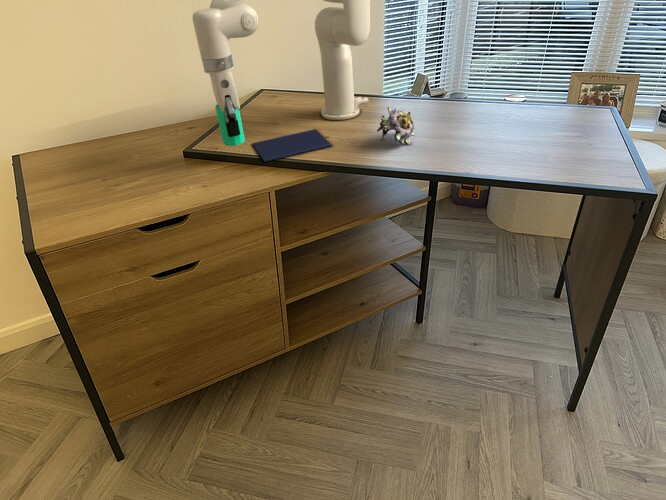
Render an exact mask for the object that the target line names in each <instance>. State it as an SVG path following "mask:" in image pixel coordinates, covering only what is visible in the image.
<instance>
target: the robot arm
mask: <svg viewBox="0 0 666 500" xmlns="http://www.w3.org/2000/svg"><path fill="white" fill-rule="evenodd" d="M242 1H243V0H211V2H210V5H209V8H202V9H199V10H196V11H194V12H193V13H192V16H191V17H192V24H193V28H194V32H195V37H196V42H197V46H198V50H199V54H200V55H199V56H200V59H201V63H202V68H203V72H204V73H205V74H209V78H210V82H211V87H212V92H213V95H214V98H215V102H216V105H217V104H218V106H219V108H220V109H221V111H222V112H224V113H225V118H226V127H227V132H228V136H229V137H233V136H238V135H240V130H239V125H238V120H237V117H236V113H235V109H234V106H235V108H236V109H238V110H239V111H240V109H241V104H240V101H239V97H238V92H237V87H236V83H235V79H234V76H233V73H232V70H234V69H235V66H234V59H233V55H232V50H231V44H230V39H239V38H240V39H241V38H247V37H249V36H252V35H254V33H255V32H256V31H257V29H258V27H259V15H258V13H257V11H256V10H255V9H254V8H253V7H252V6H250V5H248V4H246V3H242ZM323 1H324V2H327V3H333V4H342V7H339V6H338V7H337V6H328V7H324V8H323V9H321V10H320V11H318V13H317V15H316V16H315V20H314V32H315V35H316V39H317V42H318V47H319V53H320V61H321V73H322V83H323V94H324V95H323V96H324V108H322V109H321V111H320V115H321V116H322V117H323V118H324V119H327V120H331V121H343V120H349V119H352V118H355V117H357V116H358V115H359V114H360V106H361V105H367V104H369V98H368V97H363V98H362V96H359V97H358V96H357V97H355V91H354V88H355V87H354V71H353V55H352V51H351V48H350V46H351V47H359V46H361V45H364V43H366V41H367V40H368V38H369V35H370V32H371V31H370V30H371V0H323ZM225 101H226V102H225ZM225 108H228V110H227V111H226V110H225ZM227 113H229V115H228V116H227Z"/></svg>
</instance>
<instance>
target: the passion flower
mask: <svg viewBox="0 0 666 500" xmlns="http://www.w3.org/2000/svg"><path fill="white" fill-rule="evenodd" d="M387 111H388V115H389V116H388V118H386V116H385V115H383V114H381V116H380V119H381V121H380V122H379V127H378V128H377V130H376V132H377V133H379V132H380V131H381V130H382V133H381V140H384V137H385V136H386V135H387V134H388V133H389V131H393V130H394V131H395V133H394V135H393V140H394V141H395V142H399V143H400V144H401V145H404V144H406V145H410V143H411V140H410V138H411V136H412V137H413V136H415V132H414V130H415V125H414V119H413V117H412V115H411V112H410V111H408V112H407V111H403V110H399V108H398V106H396V107H395V108H394V109H392V107H390V106H387Z"/></svg>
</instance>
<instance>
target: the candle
mask: <svg viewBox="0 0 666 500" xmlns="http://www.w3.org/2000/svg"><path fill="white" fill-rule="evenodd" d="M225 102H226V101H225ZM234 109H235V113H236V117H237V120H238V125H239V130H240V135H238V136H233V137H229V136H228V132H227V127H226V118H225V113H224V112H222V111H221V109H220V108H219V106H218V104H217V103H216V104H215V112H216V117H217V123H218V125H219V130H220V135H221V140H222V144H223V145H224V146H226V147H236V146H239V145H242V144H243V143H245V141H246V138H245V133H244V128H243V122H242V118H241V117H242V116H241V113H240V109H239V110H238V109H236V108H235V106H234ZM225 110H226V111H227V110H228V108H225ZM228 115H229V113H227V116H228Z"/></svg>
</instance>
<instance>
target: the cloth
mask: <svg viewBox="0 0 666 500" xmlns="http://www.w3.org/2000/svg"><path fill="white" fill-rule="evenodd" d="M252 146H253V147H254V149H255V151H256V152H257V153H258V155H259V156H260V158H261V159H262V161H263V162H264V163H268V162H272V161H276V160H277V161H278V160H281V159H285V158H289V157H293V156H294V157H295V156H297V155H302V154H307V153H310V152H314V151H319V150H323V149H327V148H331V147H333V145H332V144H331V143H330V142H329V140H327V139H326V138H325V137H324V136H323V135H322V134H321V133H320V132H319V131H318V130H317V129H316V128H314V129H310V130H305V131H301V132H296V133H291V134H288V135H283V136H279V137H275V138H270V139H265V140H260V141H257V142H252Z"/></svg>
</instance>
